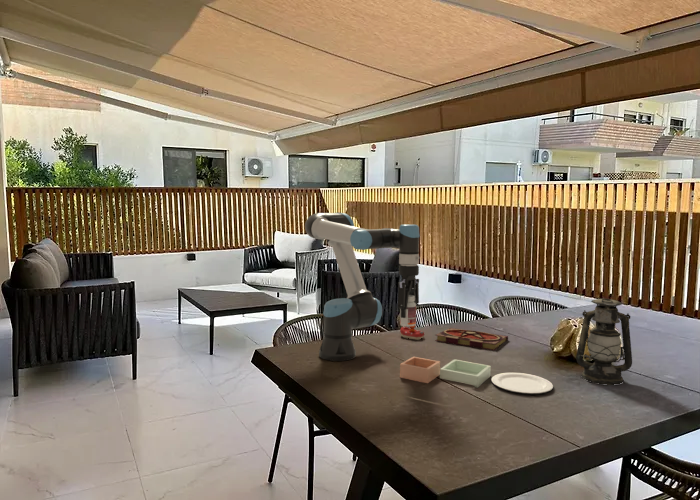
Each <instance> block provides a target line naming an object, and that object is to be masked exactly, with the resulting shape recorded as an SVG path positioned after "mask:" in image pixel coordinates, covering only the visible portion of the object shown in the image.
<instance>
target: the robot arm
mask: <svg viewBox="0 0 700 500" xmlns="http://www.w3.org/2000/svg"><path fill="white" fill-rule="evenodd" d="M304 228H305V229H304V230H305V232H306V234H307V236H308V237H310V238H312V239H316V240H326V242H327V244H328V246H329V247H332V250H333V253H334V257H335V259H336V263H337V266H338V269H339V272H340V276H341V279H342V281H343V284H344V288H345V290H346V294H347V297H346V298H345V297H342V298H341V297H340V298H339V297H338V298H333V299H331V300H328V301H326V302H325V304H324V305H323V338H322V342H321V345H320V347H319V351H318V352H319V355H318V356H319V357H320V358H321V359H322V360H327V361H332V362H333V361H334V362H342V361H344V362H345V361H349V360H352V359H355V357H356V348H355V345H354V342H353V337H352V336H353V335H352V333H353V332H352V331H353V330H354V329H355V330H356V329H361V328H366V327H367V328H368V327H371V326H375V325H377V324H378V323H379V322H380V321H381V318H382V315H383V307H382V303H381V302H380V299H377V298H376V297H373V294H372V292H371V291H370V290H368V289H367V286H366V284H365V281H364V278H363V274H362V272H361V269H360V266H359V263H358V260H357V257H356V254H355V252H354V249H355V250H360V251H361V250H362V251H365V250H374V249H377V250H378V249H398V250H399V252H398V254H399V255H398V258H399V259H398V264H399V266H398V274H399V276H402V278H401V281H399V282H397V290H398V291H397V309H399V310H400V309H401V324H400V326H401V327H409V326H408V309H407V304H408V297H409V295H413V296H415V301H414V302H415V303H416V307H419V303H420V295H419V292H420V289H419V286H420V285H419V284H420V279H419V278H416V276H418V275H419V273H420V271H419V270H420V269H419V267H420V266H419V263H420V258H421V257H420V237H421V235H420V226H419V225H417V224H400V225H399V228H390V227H389V228H385V227H384V228H381V229H380V228H376V229H369V228H363V227H357V226H355V224H354V221H353V219H352V217H351V216H350V215H349V214H347V213H345V212H316V213H313V214H311V215H310V216H309V217H308V218H307V219H306V221H305V223H304Z"/></svg>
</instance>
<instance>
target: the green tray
mask: <svg viewBox="0 0 700 500" xmlns="http://www.w3.org/2000/svg"><path fill="white" fill-rule="evenodd" d="M491 370H492V367H491V365H488V364H483V363H477V362H471V361H467V360H466V361H465V360H461V359H456V358H455V359H452V360H451V361H450V362H448V363H446V364H445V365H443V366H442V367H440V375H439V379H442V380H446V381H451V382H457V383H462V384H466V385H471V386H473V388H477V389H478V388H479V387H481V385H482V384H483V383H485V382H486V381H487V380H488V379H489V378H491V374H492V372H491Z"/></svg>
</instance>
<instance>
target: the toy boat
mask: <svg viewBox="0 0 700 500" xmlns="http://www.w3.org/2000/svg"><path fill="white" fill-rule="evenodd" d="M415 327H416V325H415V326H401V327H400V329H399V333H400V336H401V337H402V338H403V339H408V338H409V340H414V341H420V340H421V338H422V339H423V338H424V337H425V332H424V331H422V330H419V329H418V330H417V329H415Z"/></svg>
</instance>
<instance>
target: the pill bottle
mask: <svg viewBox="0 0 700 500" xmlns="http://www.w3.org/2000/svg"><path fill="white" fill-rule="evenodd" d="M414 301H415V296H413V295H409V297H408V304H407V309H408V326H407V327H409V326H415V325H416V324H417V306H416V303H415V302H414ZM399 325H401V309H399ZM415 327H416V326H415Z"/></svg>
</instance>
